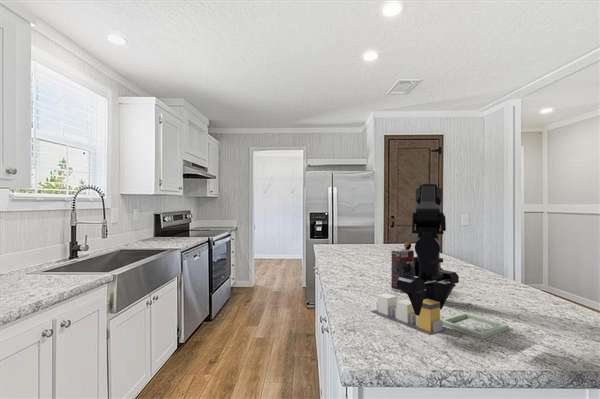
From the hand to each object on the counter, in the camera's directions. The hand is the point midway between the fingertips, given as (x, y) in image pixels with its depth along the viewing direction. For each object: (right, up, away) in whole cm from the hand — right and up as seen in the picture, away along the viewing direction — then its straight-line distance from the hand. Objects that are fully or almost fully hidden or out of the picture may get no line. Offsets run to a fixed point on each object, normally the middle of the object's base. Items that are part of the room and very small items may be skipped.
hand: (428, 312), depth 89 cm
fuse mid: (-4, -4, +6) cm, 9 cm away
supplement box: (+7, -6, +44) cm, 45 cm away
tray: (+12, -6, +1) cm, 14 cm away
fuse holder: (-4, -6, +6) cm, 9 cm away
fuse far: (-8, -4, +13) cm, 15 cm away
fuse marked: (0, -4, 0) cm, 4 cm away
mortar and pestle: (+12, -6, +55) cm, 56 cm away
